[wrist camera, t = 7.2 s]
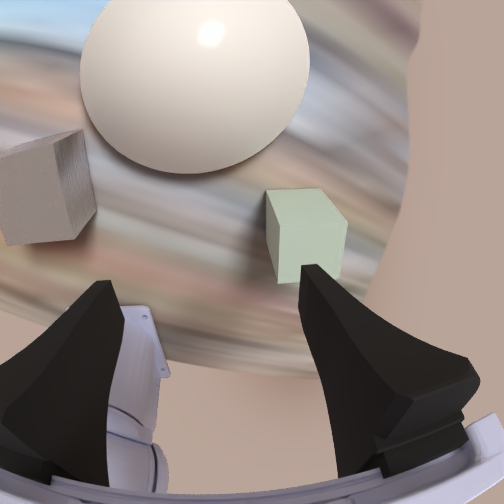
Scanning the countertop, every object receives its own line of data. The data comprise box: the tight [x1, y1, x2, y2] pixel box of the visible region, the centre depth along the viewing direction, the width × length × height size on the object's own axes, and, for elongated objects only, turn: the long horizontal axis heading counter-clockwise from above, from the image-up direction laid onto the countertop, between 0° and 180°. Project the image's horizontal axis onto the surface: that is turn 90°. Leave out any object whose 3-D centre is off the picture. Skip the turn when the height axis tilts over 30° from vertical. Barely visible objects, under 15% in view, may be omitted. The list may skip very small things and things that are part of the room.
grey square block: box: [0, 129, 97, 246], centre depth 15 cm, size 6×6×4 cm
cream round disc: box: [80, 0, 310, 174], centre depth 14 cm, size 13×13×1 cm
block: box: [266, 189, 348, 284], centre depth 18 cm, size 4×4×5 cm
